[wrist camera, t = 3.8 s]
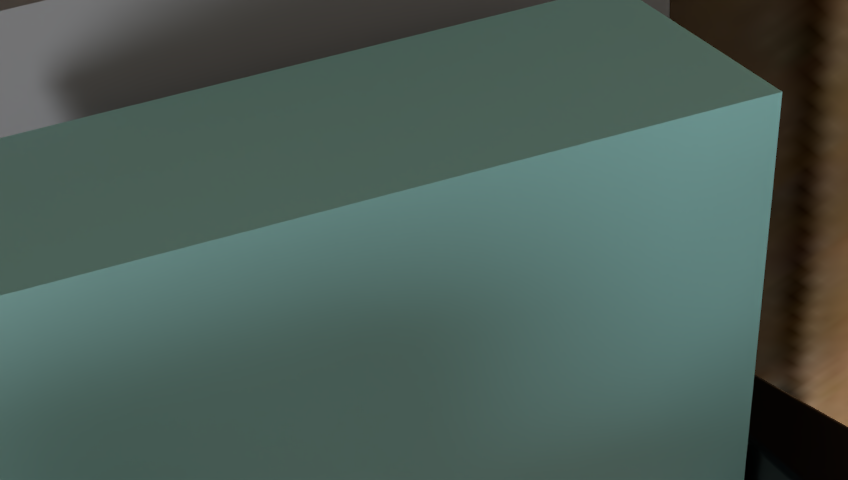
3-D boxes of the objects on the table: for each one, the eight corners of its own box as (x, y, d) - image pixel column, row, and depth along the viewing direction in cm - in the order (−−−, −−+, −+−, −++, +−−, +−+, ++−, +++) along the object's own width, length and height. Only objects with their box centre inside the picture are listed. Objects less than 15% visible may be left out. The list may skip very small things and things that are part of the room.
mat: (653, 490, 16) (666, 515, 15) (220, 615, 15) (219, 645, 15) (646, -155, 9) (670, -148, 8) (-146, 32, 8) (-172, 51, 8)
